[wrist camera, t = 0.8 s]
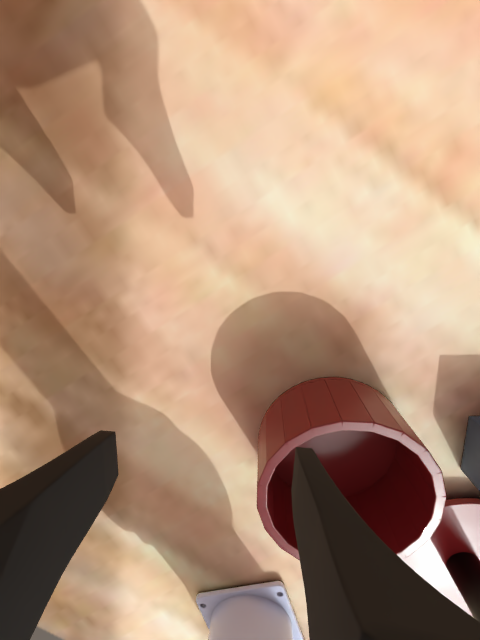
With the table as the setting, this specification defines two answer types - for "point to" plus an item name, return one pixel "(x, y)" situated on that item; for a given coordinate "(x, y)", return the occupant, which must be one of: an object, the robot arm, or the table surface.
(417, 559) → the tin lid
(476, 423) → the block
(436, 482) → the tin
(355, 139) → the table surface
